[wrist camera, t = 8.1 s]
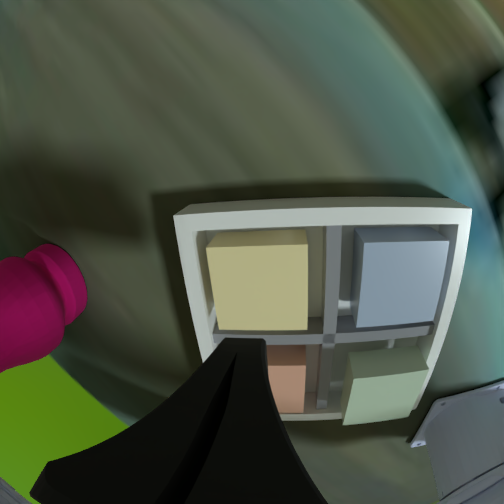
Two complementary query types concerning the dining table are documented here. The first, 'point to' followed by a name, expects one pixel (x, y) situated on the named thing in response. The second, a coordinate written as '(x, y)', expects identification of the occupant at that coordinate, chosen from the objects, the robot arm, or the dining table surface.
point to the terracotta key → (287, 376)
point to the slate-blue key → (396, 275)
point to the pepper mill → (37, 303)
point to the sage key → (381, 384)
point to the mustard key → (260, 279)
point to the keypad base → (324, 280)
